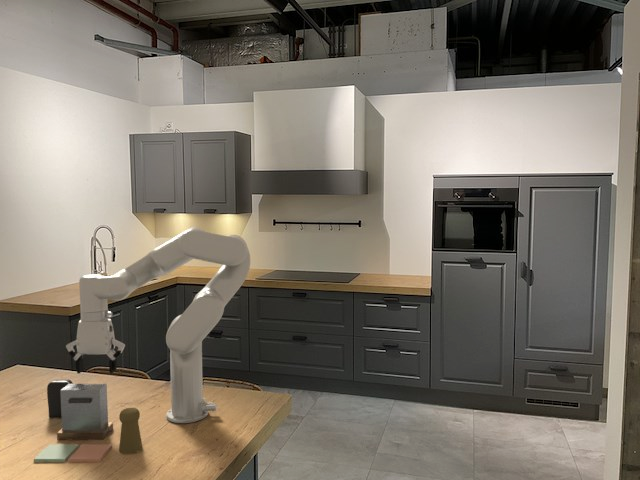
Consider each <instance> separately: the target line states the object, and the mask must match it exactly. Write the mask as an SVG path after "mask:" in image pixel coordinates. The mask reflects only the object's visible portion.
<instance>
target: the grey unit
mask: <svg viewBox="0 0 640 480" xmlns="http://www.w3.org/2000/svg"><path fill="white" fill-rule="evenodd" d="M60 394H61V416H62V418H61V429H59V430H58V431H57V432H56V439H57V441H83V440H84V441H93V440H94V441H99V440H100V441H101V440H103V441H104V440H105V439H106V438H107V436H109V434H110V433H111V432H112V431H113V429H114V422H113V421H110V422H109V412H108V411H109V410H108V385H107V383H73V384H68V385H66V386H65V387H64V388H62V389H61V390H60Z"/></svg>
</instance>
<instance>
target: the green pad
mask: <svg viewBox="0 0 640 480" xmlns="http://www.w3.org/2000/svg"><path fill="white" fill-rule="evenodd" d="M79 447H80V445H79V444H48V445H47V446H46V447H45V448H44V449H43V450H42V451H40V452H39V454H37V455H36V456H35V457H33V463H57V462H58V463H66V462H67V460H69V458H70V457H71V456H72V455H73V454H74V453H75V452H76V451H77V450H78V448H79Z"/></svg>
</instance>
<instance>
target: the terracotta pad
mask: <svg viewBox="0 0 640 480" xmlns="http://www.w3.org/2000/svg"><path fill="white" fill-rule="evenodd" d="M112 446H113V445H112V444H111V443H109V444H106V443H105V444H102V443H101V444H97V443H96V444H89V443H88V444H81V445H79V448H78V449H77V450H76V451H75V452H74V453H73V454H72V455H71V456H70V457H69V458H68V463H87V462H88V463H94V462H95V463H100V462H101V461H102V460H103V458H105V457H106V455H107V454H108V452H109V451H110V450H111V449H112Z"/></svg>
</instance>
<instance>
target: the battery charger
mask: <svg viewBox="0 0 640 480" xmlns="http://www.w3.org/2000/svg"><path fill="white" fill-rule="evenodd" d="M68 384H74V383H73V381H72V380H70V379H64V378H63V379H53V380H52V381H50V382H49V383H48V384H47V386H46V395H47V407H48V418H50V419H62V416H61V394H60V390H61V389H62V388H64V387H65V386H66V385H68Z"/></svg>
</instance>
